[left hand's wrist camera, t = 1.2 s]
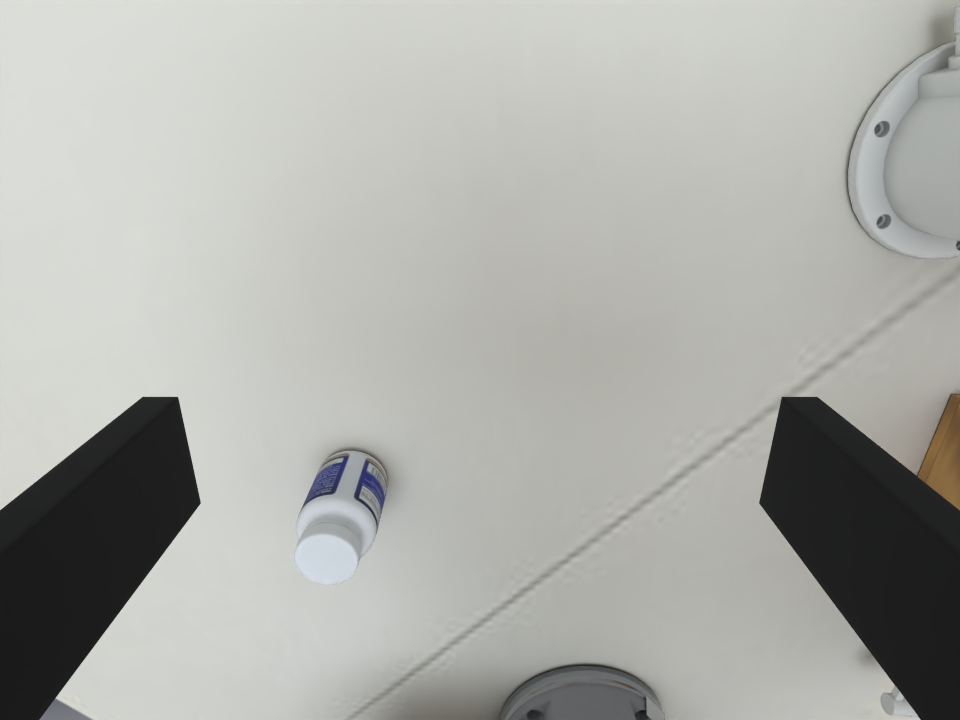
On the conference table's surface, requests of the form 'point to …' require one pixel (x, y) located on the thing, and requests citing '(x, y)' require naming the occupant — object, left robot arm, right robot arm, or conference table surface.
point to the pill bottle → (340, 517)
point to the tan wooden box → (945, 455)
